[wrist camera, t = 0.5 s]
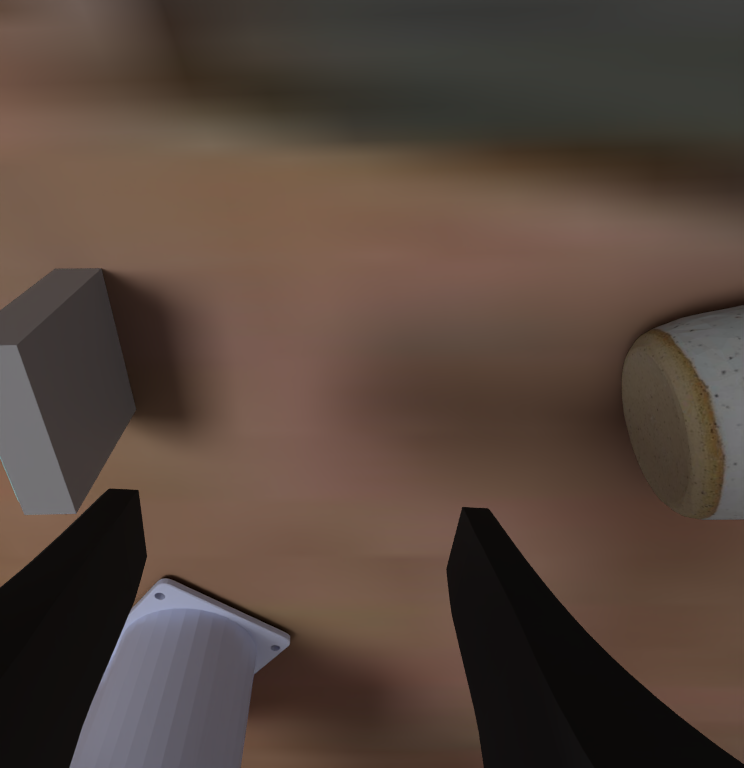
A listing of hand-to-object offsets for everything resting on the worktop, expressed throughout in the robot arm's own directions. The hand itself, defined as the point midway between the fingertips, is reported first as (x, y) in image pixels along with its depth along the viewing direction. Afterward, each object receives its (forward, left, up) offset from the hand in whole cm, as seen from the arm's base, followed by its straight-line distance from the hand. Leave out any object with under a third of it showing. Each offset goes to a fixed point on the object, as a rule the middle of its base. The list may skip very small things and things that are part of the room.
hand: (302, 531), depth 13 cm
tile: (-6, +6, -10) cm, 13 cm away
